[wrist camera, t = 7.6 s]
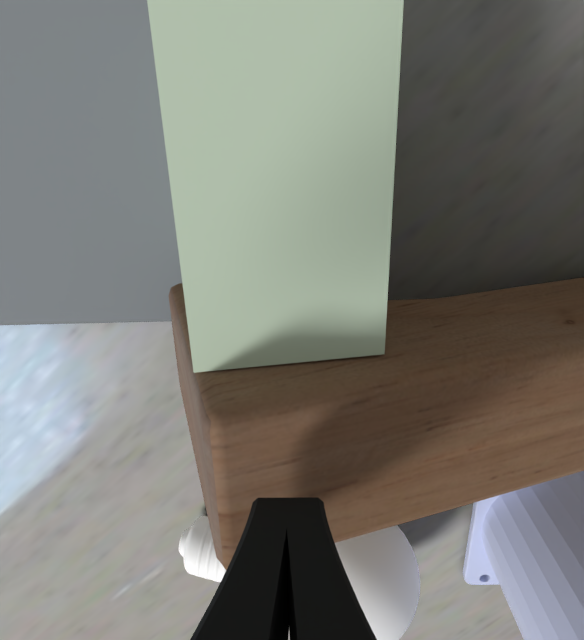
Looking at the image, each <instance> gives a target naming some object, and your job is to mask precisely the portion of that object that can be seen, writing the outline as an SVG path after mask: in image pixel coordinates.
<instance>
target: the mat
mask: <svg viewBox="0 0 584 640" xmlns="http://www.w3.org/2000/svg"><path fill="white" fill-rule="evenodd" d="M179 283H182V276H181V268H180V260H179V252H178V244H177V236H176V228H175V220H174V212H173V204H172V196H171V188H170V180H169V172H168V164H167V156H166V148H165V140H164V132H163V124H162V116H161V108H160V100H159V92H158V84H157V76H156V68H155V60H154V52H153V44H152V36H151V28H150V20H149V12H148V4H147V0H0V325H27V324H70V323H113V322H157V321H172V319H171V311H170V304H169V292H170V289H171V287H173V286H175V285H177V284H179Z"/></svg>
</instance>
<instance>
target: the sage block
mask: <svg viewBox="0 0 584 640" xmlns="http://www.w3.org/2000/svg"><path fill="white" fill-rule="evenodd" d="M147 4H148V12H149V20H150V28H151V36H152V44H153V52H154V60H155V68H156V76H157V84H158V92H159V100H160V108H161V116H162V124H163V132H164V140H165V148H166V156H167V164H168V172H169V180H170V188H171V196H172V204H173V212H174V220H175V228H176V236H177V244H178V252H179V260H180V268H181V276H182V284H183V292H184V300H185V308H186V316H187V324H188V332H189V340H190V348H191V356H192V364H193V372H194V373H196V372H206V371H217V370H227V369H237V368H248V367H258V366H268V365H279V364H289V363H299V362H310V361H320V360H330V359H341V358H351V357H361V356H372V355H382V354H385V337H386V319H387V300H388V282H389V263H390V245H391V226H392V208H393V190H394V171H395V153H396V134H397V116H398V97H399V79H400V61H401V42H402V24H403V5H404V0H147Z"/></svg>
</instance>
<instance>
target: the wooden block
mask: <svg viewBox="0 0 584 640" xmlns="http://www.w3.org/2000/svg"><path fill="white" fill-rule="evenodd" d="M169 304H170V311H171V319H172V327H173V335H174V343H175V351H176V359H177V366H178V374H179V382H180V388H181V393H182V398H183V402H184V407H185V412H186V416H187V421H188V426H189V431H190V435H191V440H192V445H193V449H194V454H195V459H196V464H197V468H198V473H199V478H200V482H201V487H202V492H203V497H204V501H205V506H206V511H207V516H208V520H209V525H210V530H211V534H212V539H213V544H214V549H215V553H216V558H217V559H218V560H219V561H220V563H221V564H222V565H223V567H224V568H225V570H227V568H228V566H229V564H230V562H231V560H232V557H233V555H234V553H235V550H236V548H237V546H238V543H239V541H240V539H241V536H242V534H243V531H244V528H245V526H246V523H247V520H248V517H249V514H250V511H251V507H252V503H253V502H254V501H255V500H256V499H257V498H297V497H318V498H319V499H321V500H322V501H323V502H324V508H325V513H326V517H327V521H328V524H329V528H330V531H331V534H332V537H333V540H334V543H337V542H340V541H343V540H347V539H350V538H354V537H357V536H361V535H364V534H368V533H371V532H375V531H378V530H381V529H385V528H388V527H392V526H395V525H399V524H402V523H406V522H409V521H413V520H416V519H419V518H423V517H426V516H430V515H433V514H437V513H440V512H443V511H447V510H450V509H454V508H457V507H461V506H464V505H467V504H471V503H474V502H478V501H481V500H485V499H488V498H491V497H495V496H498V495H502V494H505V493H509V492H512V491H516V490H519V489H522V488H526V487H529V486H533V485H536V484H540V483H543V482H546V481H550V480H553V479H557V478H560V477H564V476H567V475H571V474H574V473H578V472H581V471H584V277H583V278H576V279H569V280H562V281H555V282H548V283H541V284H534V285H527V286H520V287H513V288H506V289H500V290H493V291H486V292H479V293H472V294H465V295H458V296H451V297H444V298H437V299H409V300H387V319H386V337H385V354H382V355H372V356H361V357H351V358H341V359H330V360H320V361H310V362H299V363H289V364H279V365H268V366H258V367H248V368H237V369H227V370H217V371H206V372H196V373H194V372H193V364H192V356H191V348H190V340H189V332H188V324H187V316H186V308H185V300H184V292H183V284H182V283H179V284H177V285H175V286H173V287H171V289H170V292H169Z"/></svg>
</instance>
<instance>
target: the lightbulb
mask: <svg viewBox="0 0 584 640" xmlns="http://www.w3.org/2000/svg"><path fill="white" fill-rule="evenodd" d="M335 545H336V548H337V551H338V554H339V557H340V559H341V562H342V564H343V567H344V569H345V572H346V574H347V576H348V579H349V581H350V583H351V585H352V588H353V590H354V592H355V595H356V597H357V599H358V602H359V604H360V606H361V608H362V610H363V612H364V614H365V617H366V619H367V621H368V623H369V625H370V627H371V629H372V631H373V633H374V635H375V637H376V639H377V640H399V639H400V638H401V636H402V635H403V634H404V633H405V631H406V630H407V629H408V627H409V625H410V623H411V621H412V619H413V617H414V615H415V613H416V609H417V605H418V600H419V595H420V576H419V569H418V563H417V560H416V557H415V554H414V552H413V549H412V547H411V545H410V543H409V541H408V539H407V538H406V536H405V534H404V533H403V532H402V531H401V529H400V528H399V527H398V526H397V525H395V526H392V527H388V528H385V529H381V530H378V531H375V532H371V533H368V534H364V535H361V536H357V537H354V538H350V539H347V540H343V541H340V542H337V543H335ZM179 552H180V554H181V555H182V556H183V557H184V566H185V569H186V571H187V572H188V573H189V574H192V575H196V576H198V577H203V578H206V579H210V580H214V581H215V582H221V581H222V579H223V576H224V574H225V572H226V570H225V568H224V567H223V565H222V564H221V563H220V561H219V560H218V559H217V558H216V553H215V549H214V544H213V539H212V534H211V530H210V525H209V520H208V516H201V517H199V518H198V519H197V520H196V521H195V522H194V524H193V525H192V527H190V528H188V529H186V530H185V531H184V532H183V534H182V536H181V538H180V542H179Z"/></svg>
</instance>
